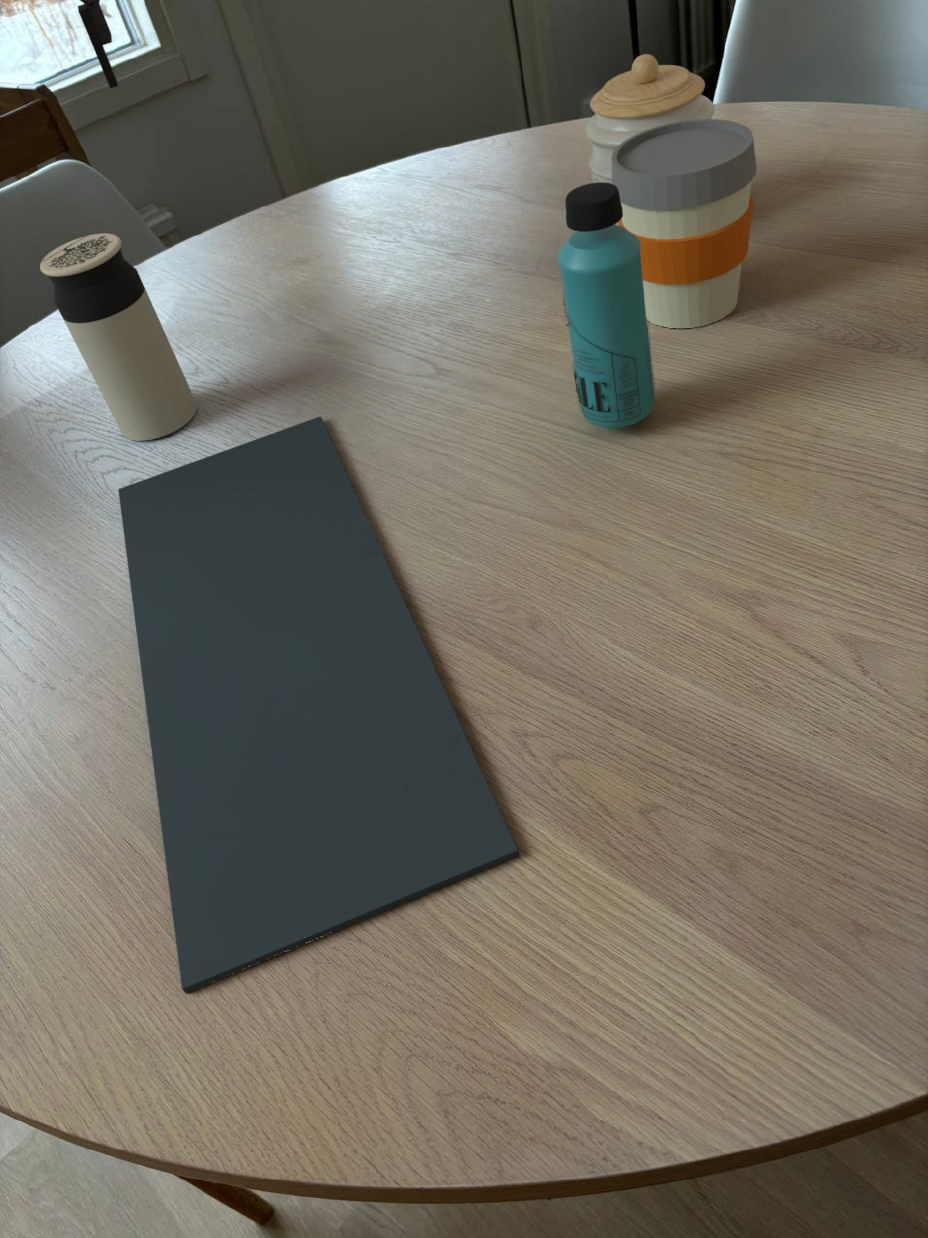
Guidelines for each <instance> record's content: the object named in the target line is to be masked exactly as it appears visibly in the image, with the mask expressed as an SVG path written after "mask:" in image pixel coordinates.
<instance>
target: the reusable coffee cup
mask: <svg viewBox="0 0 928 1238" xmlns="http://www.w3.org/2000/svg"><path fill="white" fill-rule="evenodd" d="M755 151H756V149H755V141H754V136H753V132H752V130H750V129H749V128H748V127H747V126H746V125H743V124H742V123H739V122H735V121H733V120H727V119H726V120H725V119H721V118H720V119H719V118H718V119H717V118H711V119H696V120H687V121H679V122H674V123H669V124H665V125H661V126H657V127H654V128H651V129H648V130H645V131H643V132H641V133H638V134H636V135H634V136H632V137H630V138H629V139H627V140H625V141H624V142H623V143H621V144H620V145H619V146H618V147H617V148H616V149H615V151H614V152H613V155H612V184H613V185H615V186H616V187H617V188H618V190H619V196H620V201H621V205H622V210H623V217H622V219H621V220H620V221H619V222H618V226H621V227H623V228H625V229H626V230H628V231H629V232H631V233H632V234H634V235H635V236H636V237H637V238H638V239H639V241H640V244H641V251H640V255H641V266H642V277H643V288H644V299H645V310H646V317H647V318H646V320H647V322H649V321H650V322H651V323H650V322H649V323H650V324H652V323H653V324H652V325H654V324H655V325H654V326H656V325H659V326H658V327H660V326H664V327H668V328H667V329H669V327H670V328H677V329H676V330H679V329H678V328H682V329H681V330H684V329H683V328H692V327H698V328H700V327H699V326H701V325H702V326H703V325H707V326H709V325H708V324H710V325H712V324H711V323H713V322H715V323H717V322H716V321H718V320H720V319H721V320H723V319H725V318H726V317H727V316H726V315H728V314H729V313H730V312H731V311H732V310H733V309H734V308H735V309H736V307H737V305H738V298H739V290H740V281H741V273H742V266H743V261H744V260H745V259H746V258H747V255H748V251H749V245H750V238H751V237H750V236H751V227H752V221H753V211H754V204H755V203H754V202H755V201H754V199H753V196H752V195H751V189H752V181H753V179H754V178H755V176H756V175H757V169H758V168H757V167H758V166H757V160H756V152H755ZM736 304H737V305H736ZM735 306H736V307H735ZM735 309H734V310H735ZM734 310H733V311H734ZM733 311H732V312H733ZM732 312H731V313H732ZM731 313H730V314H731ZM730 314H729V315H730ZM729 315H728V316H729ZM725 316H726V317H725ZM724 317H725V318H724ZM722 318H723V319H722ZM721 320H720V321H721ZM718 322H719V321H718ZM713 324H714V323H713ZM703 327H704V326H703ZM692 329H693V328H692Z"/></svg>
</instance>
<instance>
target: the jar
mask: <svg viewBox="0 0 928 1238" xmlns="http://www.w3.org/2000/svg"><path fill="white" fill-rule="evenodd" d="M705 87H706V84H705V80H704V79H703V78H702V77H701V76H700V75H698V74H695V73H693V72H691V71H689V70H688V69H687V68H686V67H683V66H681V65H673V64H659V63H658V60H657V58H655V57H654V55H652V54H648V53H643V54H641V55H638V56H637V57H636V58H635V59H634V61H633V63H632V65H631V70H629V71H625V72H623V73H620V74H617V75H616V76H614V77H612V78H610V79H609V80H608V81H607V82H606V83H605V84H604V86H603V87H602V88H601V89H600V90H598V91H597V92H596V93H595V94H594V96H593V97H591V100H590V102H589V103H590V104H589V105H590V109H591V110H592V112H593V113H594V114H593V115H592V116H591V117H590V118H589V119H588V121H587V122H586V123H585V127H584V134H585V136H586V137H587V139H588V140H589V141H591V154H590V156H589V158H588V166H589V169H590V172H591V179H592V183H598V182H604V183H610V184H612V155H613V152H614V151H615V149H616V148H617V147H618V146H619V145H620V144H621V143H623V142H624V141H625V140H627V139H629V138H630V137H632V136H634V135H636V134H638V133H641V132H643V131H645V130H648V129H651V128H654V127H657V126H661V125H665V124H669V123H674V122H679V121H687V120H696V119H713V116H714V114H715V105H714V102H712V100H711V99H709V97H706V96H705V95H703V92H704V90H705ZM615 225H618V222H617V223H616V224H615Z"/></svg>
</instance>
